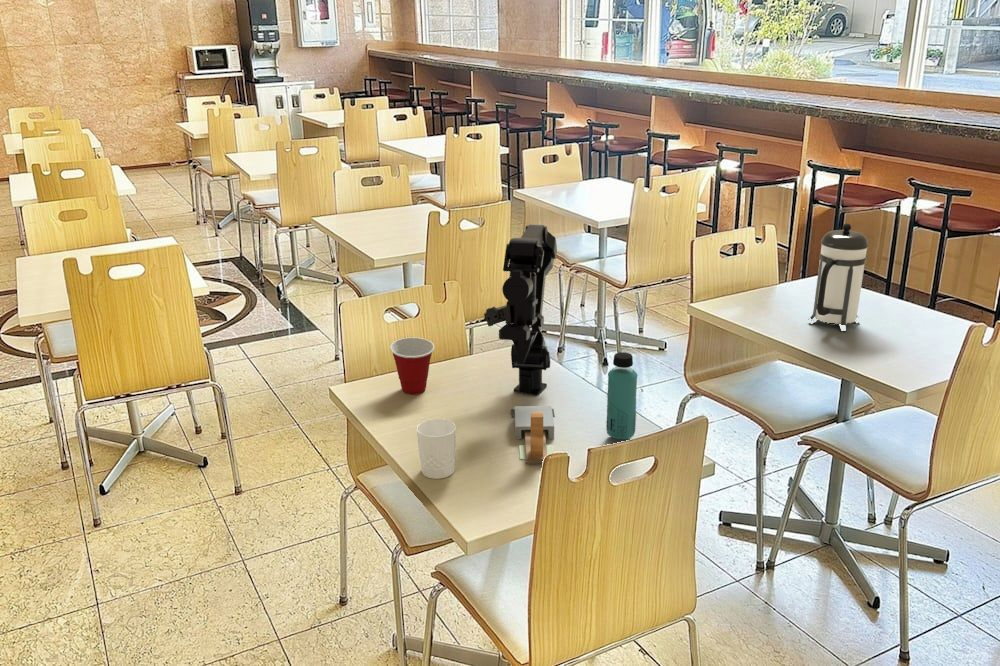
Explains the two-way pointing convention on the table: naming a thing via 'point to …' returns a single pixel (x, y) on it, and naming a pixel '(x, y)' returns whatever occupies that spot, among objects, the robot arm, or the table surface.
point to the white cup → (437, 447)
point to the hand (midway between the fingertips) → (521, 363)
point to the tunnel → (525, 419)
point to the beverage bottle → (621, 397)
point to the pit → (514, 413)
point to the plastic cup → (412, 362)
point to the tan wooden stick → (535, 439)
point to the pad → (523, 451)
